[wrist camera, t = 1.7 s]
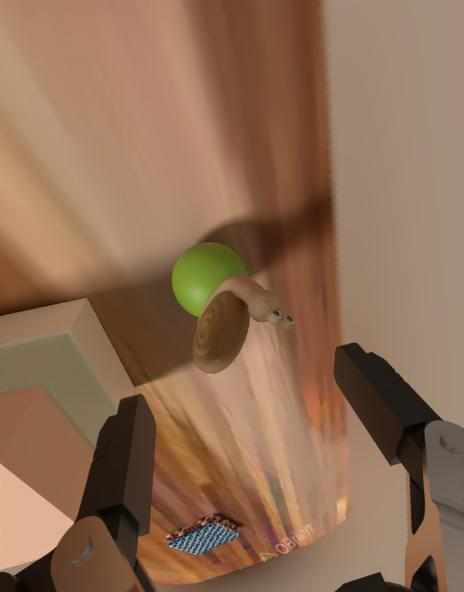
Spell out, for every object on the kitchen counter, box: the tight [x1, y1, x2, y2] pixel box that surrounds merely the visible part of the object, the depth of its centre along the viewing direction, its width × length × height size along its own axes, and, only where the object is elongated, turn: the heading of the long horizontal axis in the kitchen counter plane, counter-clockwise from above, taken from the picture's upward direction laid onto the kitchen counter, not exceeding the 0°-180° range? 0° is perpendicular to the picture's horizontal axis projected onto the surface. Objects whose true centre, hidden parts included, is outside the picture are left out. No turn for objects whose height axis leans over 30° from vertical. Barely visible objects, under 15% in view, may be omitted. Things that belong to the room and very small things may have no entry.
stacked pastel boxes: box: [0, 298, 135, 570], centre depth 18 cm, size 11×11×12 cm
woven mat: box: [166, 514, 240, 555], centre depth 48 cm, size 10×11×2 cm
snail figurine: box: [172, 242, 294, 374], centre depth 16 cm, size 5×6×12 cm
